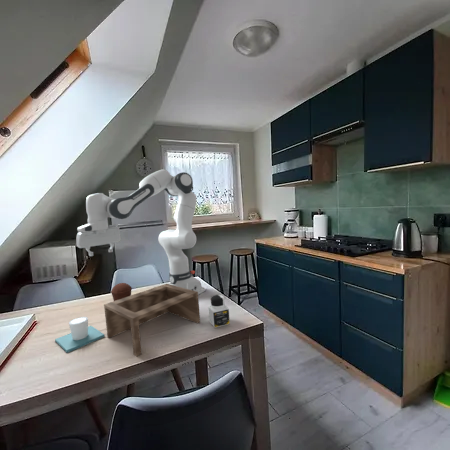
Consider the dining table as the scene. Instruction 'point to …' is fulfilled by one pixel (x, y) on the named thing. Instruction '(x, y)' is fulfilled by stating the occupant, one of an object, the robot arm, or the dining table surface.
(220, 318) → the medicine bottle
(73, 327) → the shot glass
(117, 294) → the muffin
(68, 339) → the mat
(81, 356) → the dining table surface
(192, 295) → the box
